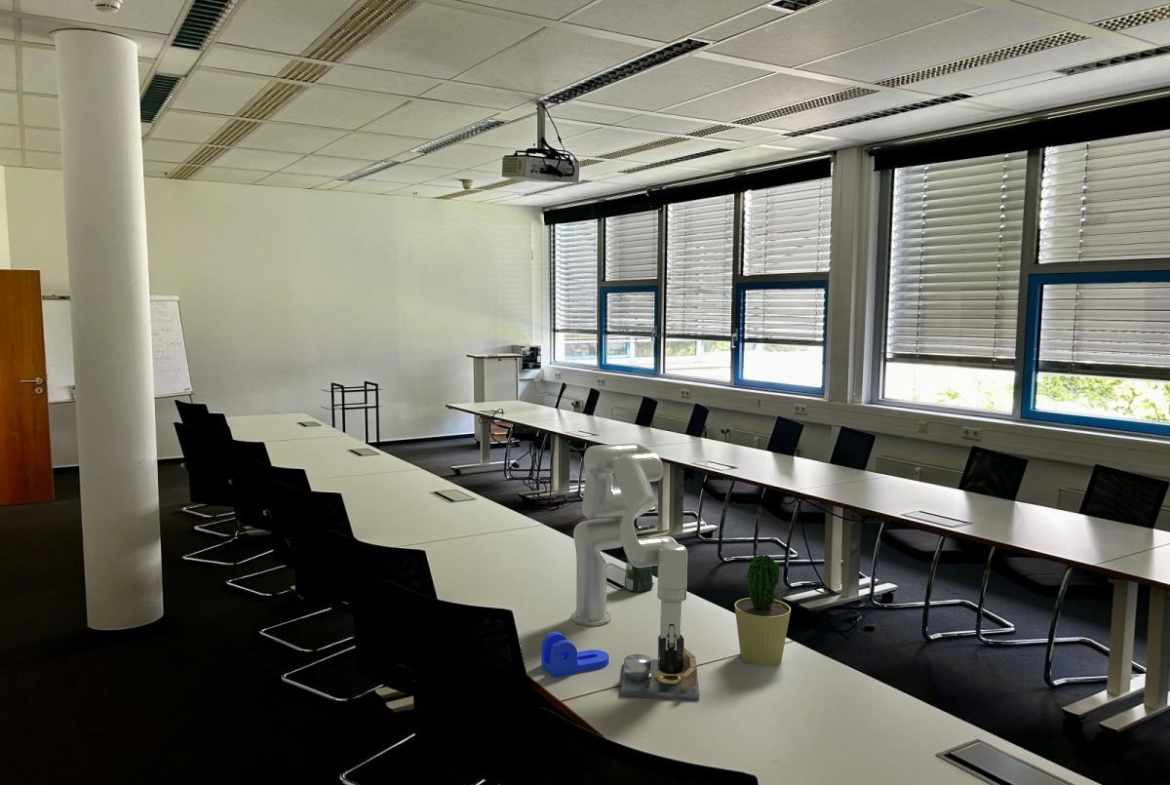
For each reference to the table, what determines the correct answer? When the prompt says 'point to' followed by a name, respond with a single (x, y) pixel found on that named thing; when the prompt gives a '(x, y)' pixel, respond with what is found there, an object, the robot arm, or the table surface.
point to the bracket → (569, 656)
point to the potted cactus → (762, 615)
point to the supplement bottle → (680, 656)
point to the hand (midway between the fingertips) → (670, 657)
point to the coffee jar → (638, 577)
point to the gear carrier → (659, 679)
